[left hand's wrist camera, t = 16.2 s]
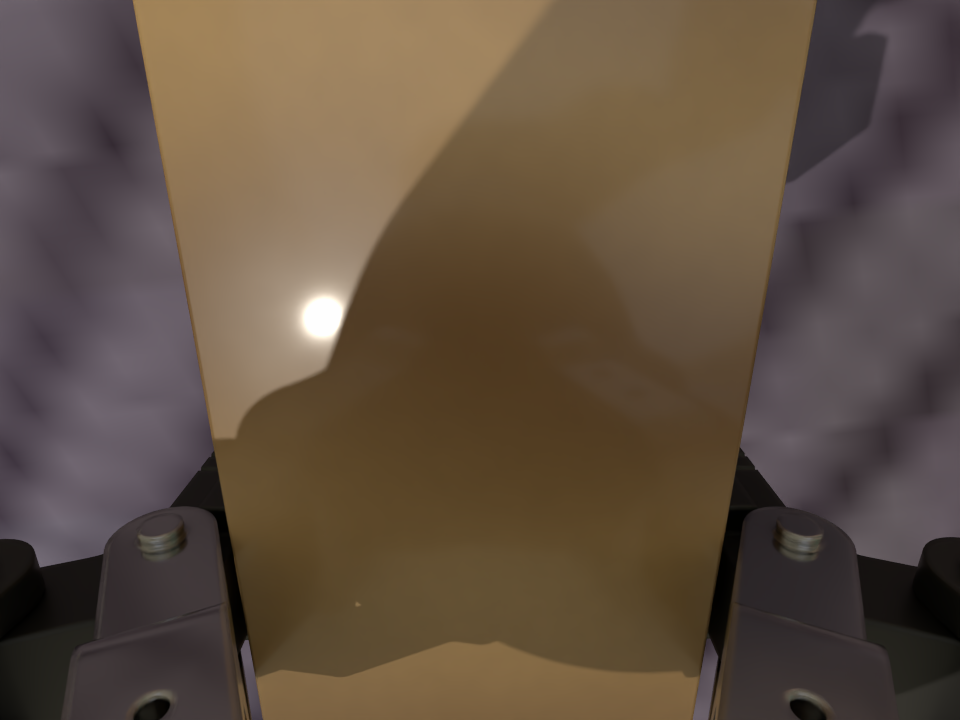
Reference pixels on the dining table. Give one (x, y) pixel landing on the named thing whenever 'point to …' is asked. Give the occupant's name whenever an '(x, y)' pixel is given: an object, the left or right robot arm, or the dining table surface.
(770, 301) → the dining table surface
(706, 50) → the box
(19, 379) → the dining table surface
